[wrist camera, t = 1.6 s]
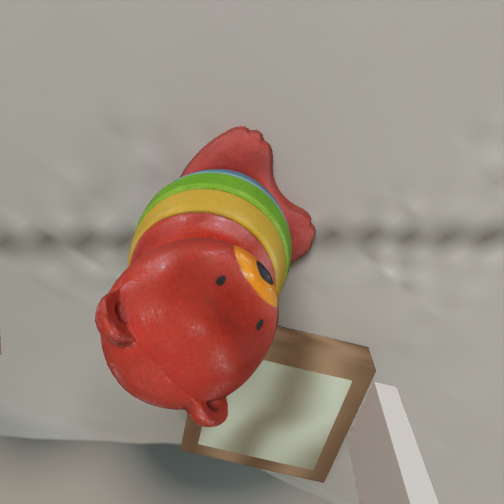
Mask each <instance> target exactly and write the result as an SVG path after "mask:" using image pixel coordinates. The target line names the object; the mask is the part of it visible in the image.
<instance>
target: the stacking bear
mask: <svg viewBox="0 0 504 504" xmlns="http://www.w3.org/2000/svg"><path fill="white" fill-rule="evenodd" d="M272 161H273V155H272V149H271V146H270V144H269V143H267V142H266V141H265V140H264V138H263V135H262V133H261V132H259V131H257V130H249V129H248V128H246V127H235V128H232V129H230V130H228V131H226V132H225V133H223V134H221V135H219V136H218V137H216V138H215V139H213V140H212V141H211V142H209V143H208V144H207V145H206V146H205V147H203V148H202V149H201V150H200V151H199V152H198V153H197V154H196V156H195V157H194V158H193V159H192V160H191V161H190V163H189V164H188V165H187V167H186V168H185V170H184V171H183V173H182V175H181V176H180V178H179V179H177V180H175V181H173V182H172V183H170V184H169V185H167V186H166V187H165V188H163V189H162V190H161V191H160V192H159V193H158V194H156V196H155V197H154V198H153V199H152V200H151V202H150V203H149V204H148V206H147V208H146V209H145V211H144V212H143V214H142V216H141V218H140V220H139V223H138V225H137V228H136V231H135V235H134V237H133V240H132V243H131V247H130V252H129V257H128V268H127V269H126V270H125V271H124V272H123V273H122V275H121V276H120V277H119V278H118V279H117V281H116V282H115V283H114V285H113V286H112V288H111V290H110V291H109V293H108V294H106V295H105V296H104V297H103V298H102V299H101V301H100V302H99V304H98V306H97V309H96V315H95V322H96V325H97V328H98V330H99V332H100V335H101V343H102V349H103V352H104V356H105V359H106V362H107V365H108V367H109V369H110V370H111V372H112V374H113V376H114V377H115V378H116V380H117V381H118V383H119V384H120V385H121V386H122V387H123V388H124V389H125V390H126V391H127V392H128V393H130V394H131V395H132V396H134V397H136V398H138V399H139V400H141V401H143V402H146V403H148V404H151V405H154V406H158V407H162V408H168V409H176V410H179V409H185V410H186V411H187V413H188V415H189V416H190V418H191V419H192V420H193V421H194V422H195V423H196V424H198V425H200V426H203V427H216V426H219V425H220V424H222V423H223V422H224V421H225V420H226V419H227V416H228V403H227V399H226V397H227V396H228V395H230V394H231V393H233V392H234V391H235V390H237V389H238V388H239V387H240V386H242V385H243V384H244V383H245V382H246V381H247V380H248V379H249V378H250V377H251V376H252V374H253V373H254V372H255V371H256V369H257V368H258V367H259V365H260V364H261V362H262V361H263V359H264V358H265V356H266V354H267V352H268V350H269V349H270V346H271V344H272V341H273V339H274V336H275V333H276V329H277V325H278V311H279V308H278V296H279V294H280V292H281V290H282V288H283V286H284V283H285V281H286V278H287V275H288V272H289V267H290V263H291V262H293V261H295V260H296V259H298V258H300V257H301V256H303V255H304V254H306V253H307V252H308V251H309V250H310V249H311V246H312V240H313V238H314V236H315V233H316V230H315V227H314V225H313V224H312V223H311V217H310V215H309V214H308V213H307V212H306V211H305V210H304V209H302V208H300V207H298V206H296V205H294V204H293V203H291V202H290V201H289V200H287V199H286V198H285V197H284V196H283V195H282V193H281V192H280V190H279V189H278V187H277V185H276V182H275V180H274V176H273V170H272Z"/></svg>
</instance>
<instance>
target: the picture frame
mask: <svg viewBox="0 0 504 504" xmlns="http://www.w3.org/2000/svg"><path fill="white" fill-rule="evenodd" d="M375 372H376V369H375V366H374V363H373V360H372V357H371V354H370V351H369V348H368V347H365V346H361V345H356V344H352V343H348V342H344V341H339V340H335V339H331V338H327V337H323V336H318V335H314V334H310V333H306V332H301V331H297V330H293V329H289V328H284V327H280V326H277V329H276V333H275V336H274V339H273V341H272V344H271V346H270V349H269V350H268V352H267V354H266V356H265V358H264V359H263V361H262V362H261V364H260V365H259V367H258V368H257V369H256V371H255V372H254V373H253V374H252V376H251V377H250V378H249V379H248V380H247V381H246V382H245V383H244V384H243V385H242V386H240V387H239V388H238V389H237V390H235V391H234V392H233V393H231V394H230V395H228V396H227V397H226V399H227V403H228V416H227V419H226V420H225V421H224V422H223V423H222V424H220V425H219V426H216V427H203V426H200V425H198V424H196V423H195V422H194V421H193V420H192V419H191V418H190V416H189V415H188V416H187V420H186V425H185V430H184V435H183V439H182V444H181V449H180V450H182V451H187V452H191V453H196V454H200V455H204V456H209V457H213V458H218V459H222V460H226V461H231V462H235V463H240V464H244V465H248V466H252V467H257V468H261V469H266V470H270V471H274V472H279V473H283V474H288V475H292V476H296V477H301V478H305V479H309V480H314V481H318V482H323V483H324V481H325V479H326V477H327V475H328V473H329V471H330V468H331V466H332V464H333V462H334V460H335V458H336V456H337V453H338V451H339V449H340V447H341V445H342V443H343V441H344V438H345V436H346V434H347V432H348V430H349V428H350V426H351V423H352V421H353V419H354V417H355V415H356V413H357V411H358V408H359V406H360V404H361V402H362V400H363V398H364V395H365V393H366V391H367V389H368V387H369V385H370V383H371V380H372V378H373V376H374V374H375Z"/></svg>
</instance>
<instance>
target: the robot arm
mask: <svg viewBox="0 0 504 504" xmlns="http://www.w3.org/2000/svg"><path fill="white" fill-rule="evenodd" d="M0 355H1V337H0ZM348 441H349V446H350V452H351V458H352V464H353V470H354V475H355V481H356V487H357V493H358V499H359V504H438V501H437V498H436V496H435V493H434V490H433V487H432V485H431V482H430V479H429V476H428V474H427V471H426V468H425V465H424V463H423V460H422V457H421V454H420V452H419V449H418V446H417V443H416V441H415V438H414V435H413V432H412V430H411V427H410V424H409V421H408V419H407V416H406V413H405V410H404V408H403V405H402V402H401V399H400V397H399V394H398V391H397V388H396V387H393V386H389V385H385V384H381V383H377V382H374V384H373V386H372V388H371V390H370V392H369V394H368V396H367V399H366V401H365V403H364V405H363V407H362V409H361V411H360V413H359V416H358V418H357V420H356V422H355V424H354V426H353V428H352V430H351V433H350V435H349V437H348Z"/></svg>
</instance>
